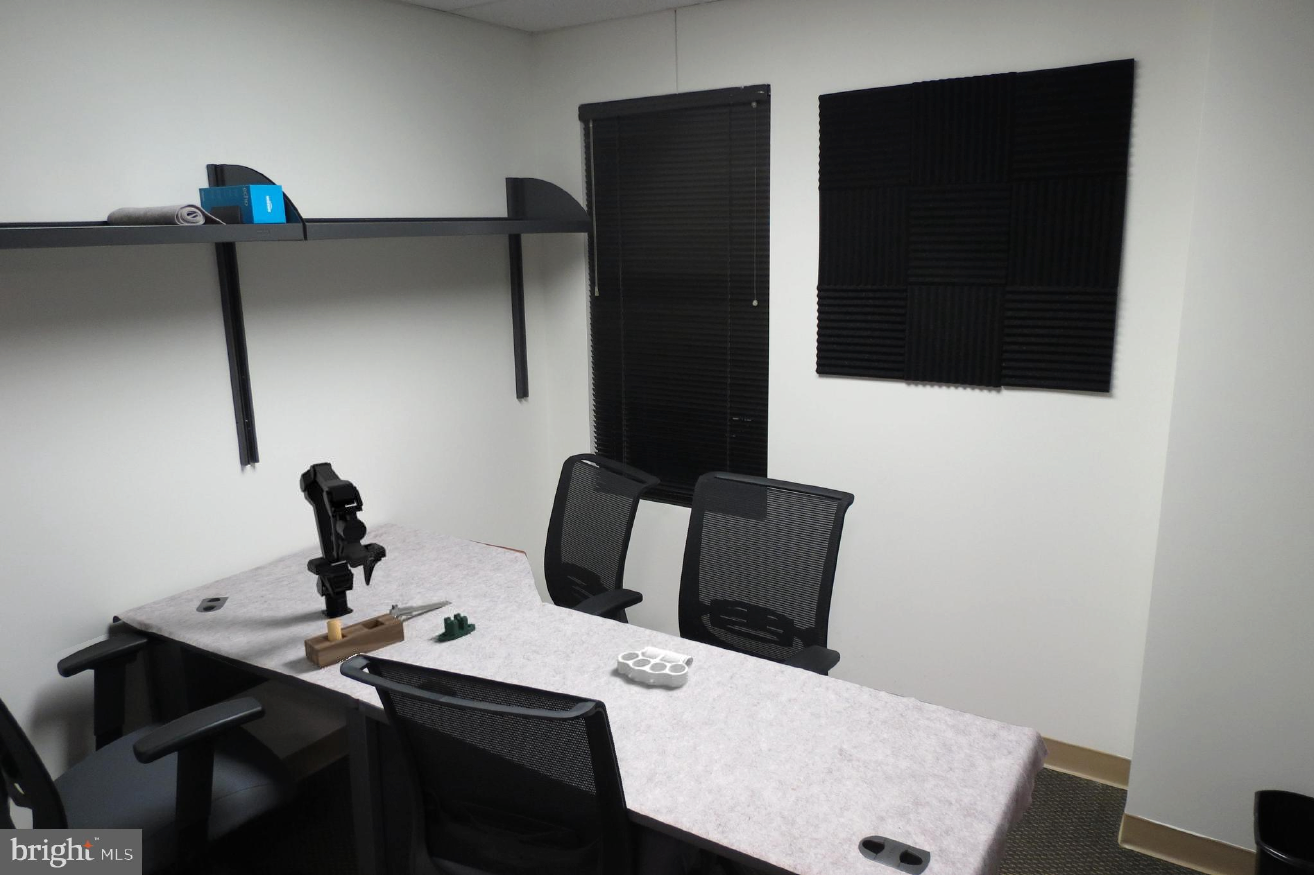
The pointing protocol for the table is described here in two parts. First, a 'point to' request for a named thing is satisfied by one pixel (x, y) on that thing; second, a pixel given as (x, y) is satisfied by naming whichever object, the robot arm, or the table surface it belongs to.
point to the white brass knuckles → (655, 666)
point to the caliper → (415, 608)
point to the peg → (334, 630)
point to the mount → (455, 628)
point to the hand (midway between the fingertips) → (350, 590)
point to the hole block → (354, 640)
